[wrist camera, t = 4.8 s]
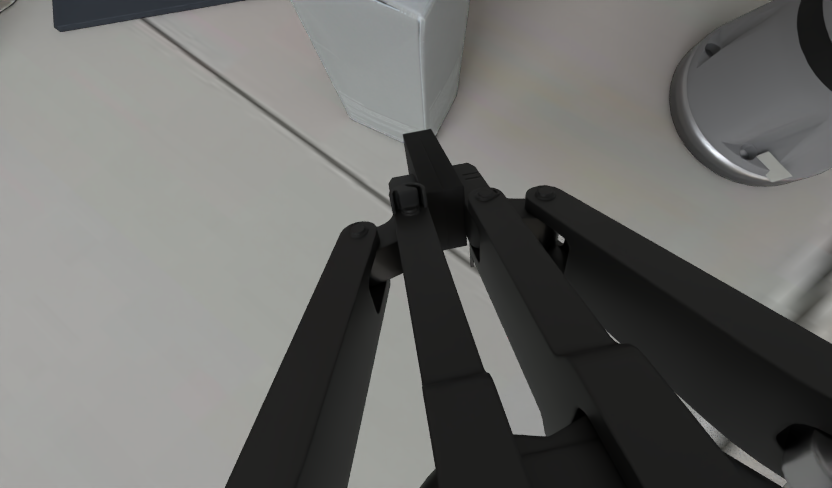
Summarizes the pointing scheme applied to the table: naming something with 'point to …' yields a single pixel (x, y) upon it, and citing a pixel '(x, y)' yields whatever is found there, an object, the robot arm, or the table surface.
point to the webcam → (5, 4)
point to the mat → (117, 10)
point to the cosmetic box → (390, 58)
